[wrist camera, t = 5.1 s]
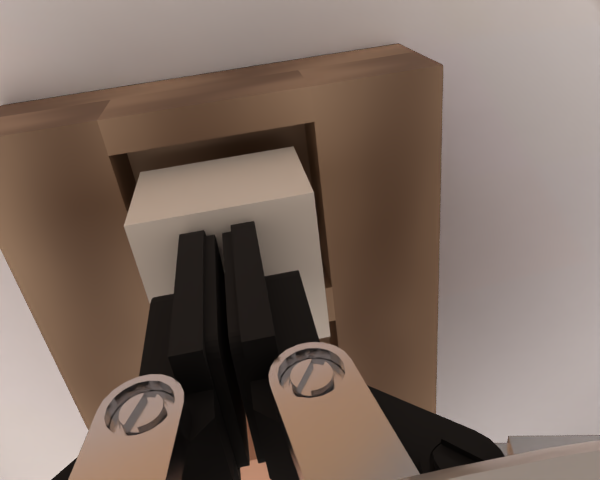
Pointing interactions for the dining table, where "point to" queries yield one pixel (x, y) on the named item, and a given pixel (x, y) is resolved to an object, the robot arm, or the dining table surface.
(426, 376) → the wooden key base
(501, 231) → the dining table surface
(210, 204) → the cream key
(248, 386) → the robot arm
